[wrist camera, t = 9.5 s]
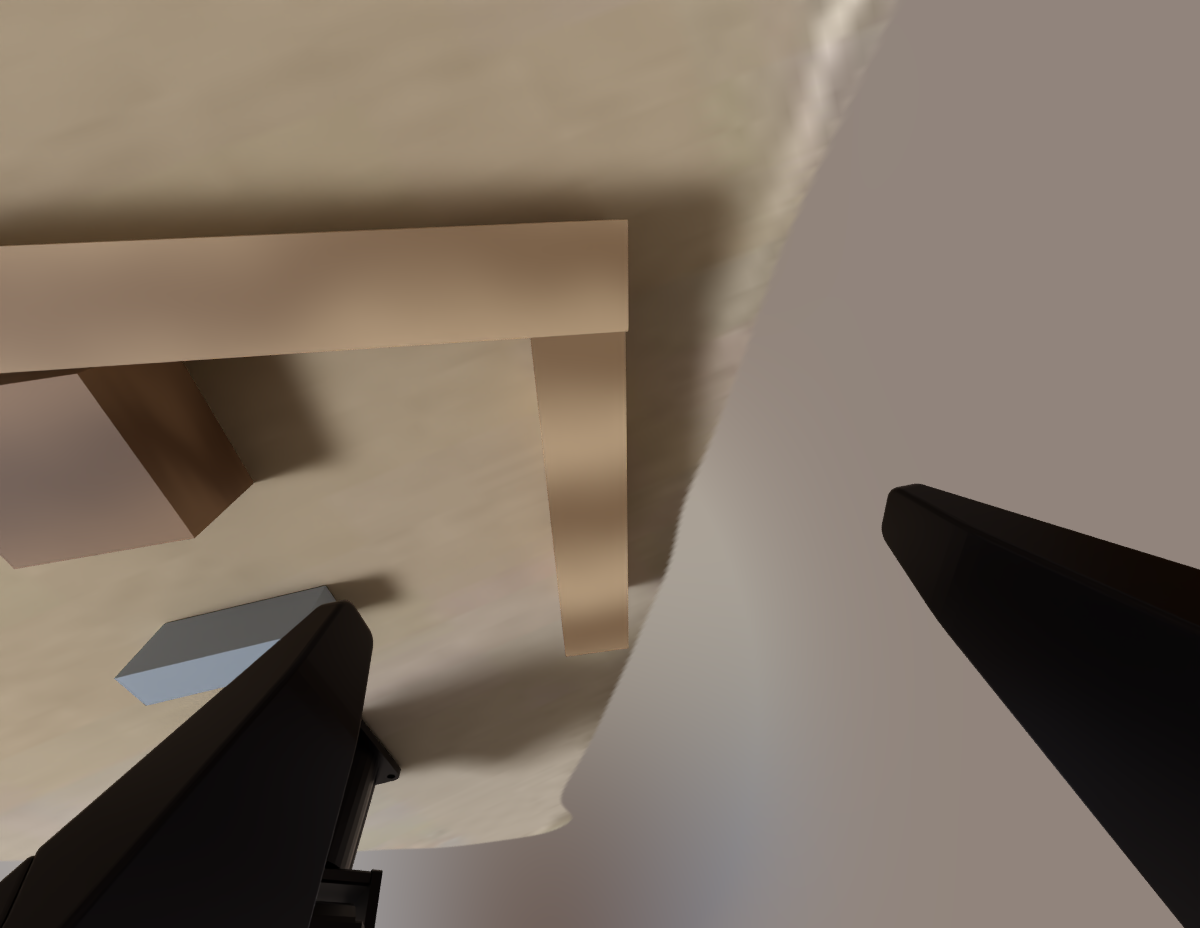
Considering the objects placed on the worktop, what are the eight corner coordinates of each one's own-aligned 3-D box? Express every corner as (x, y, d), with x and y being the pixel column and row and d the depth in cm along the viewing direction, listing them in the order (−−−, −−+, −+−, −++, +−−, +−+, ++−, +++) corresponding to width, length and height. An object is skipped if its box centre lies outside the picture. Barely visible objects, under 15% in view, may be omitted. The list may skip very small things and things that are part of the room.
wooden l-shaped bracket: (615, 588, 25) (630, 657, 21) (178, 641, 23) (104, 729, 19) (605, 219, 16) (627, 219, 12) (-105, 249, 14) (-354, 261, 10)
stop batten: (344, 613, 23) (320, 663, 20) (190, 649, 23) (146, 705, 20) (325, 585, 22) (297, 634, 19) (164, 623, 22) (114, 678, 19)
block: (256, 480, 19) (194, 538, 16) (110, 504, 19) (14, 569, 15) (175, 341, 16) (77, 373, 13) (0, 367, 16) (-150, 407, 12)
